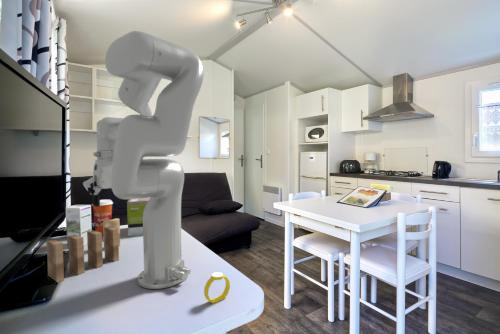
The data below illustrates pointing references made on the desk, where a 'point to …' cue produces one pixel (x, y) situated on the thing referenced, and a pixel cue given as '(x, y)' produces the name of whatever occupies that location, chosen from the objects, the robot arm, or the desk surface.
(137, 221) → the tea box
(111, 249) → the tile
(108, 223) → the tile
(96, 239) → the tile
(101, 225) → the paper cup
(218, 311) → the desk surface
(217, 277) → the gold ring
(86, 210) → the syrup box
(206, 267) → the desk surface
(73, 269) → the tile
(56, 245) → the wooden domino block
